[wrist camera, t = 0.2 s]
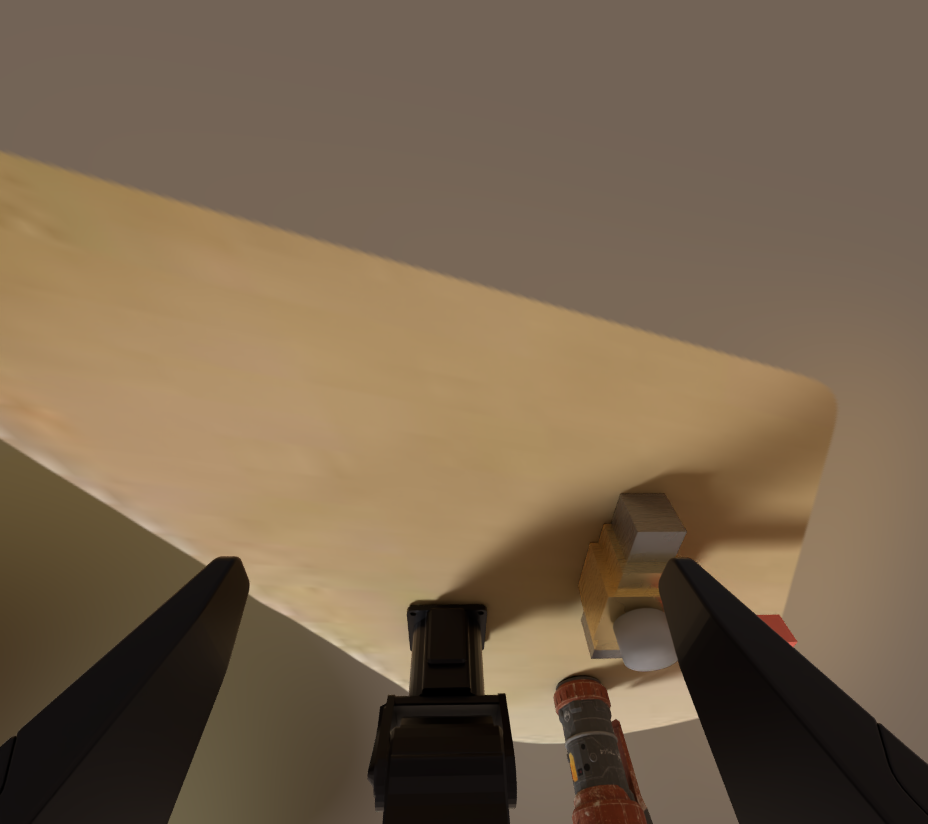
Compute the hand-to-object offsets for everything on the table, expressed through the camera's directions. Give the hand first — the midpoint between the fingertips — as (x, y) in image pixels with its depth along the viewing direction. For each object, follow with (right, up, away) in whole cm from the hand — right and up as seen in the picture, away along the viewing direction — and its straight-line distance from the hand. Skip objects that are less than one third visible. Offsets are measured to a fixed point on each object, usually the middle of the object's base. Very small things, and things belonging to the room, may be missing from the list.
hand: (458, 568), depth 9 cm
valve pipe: (+12, -8, +23) cm, 27 cm away
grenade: (+12, -25, +35) cm, 44 cm away
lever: (+16, -11, +20) cm, 27 cm away
